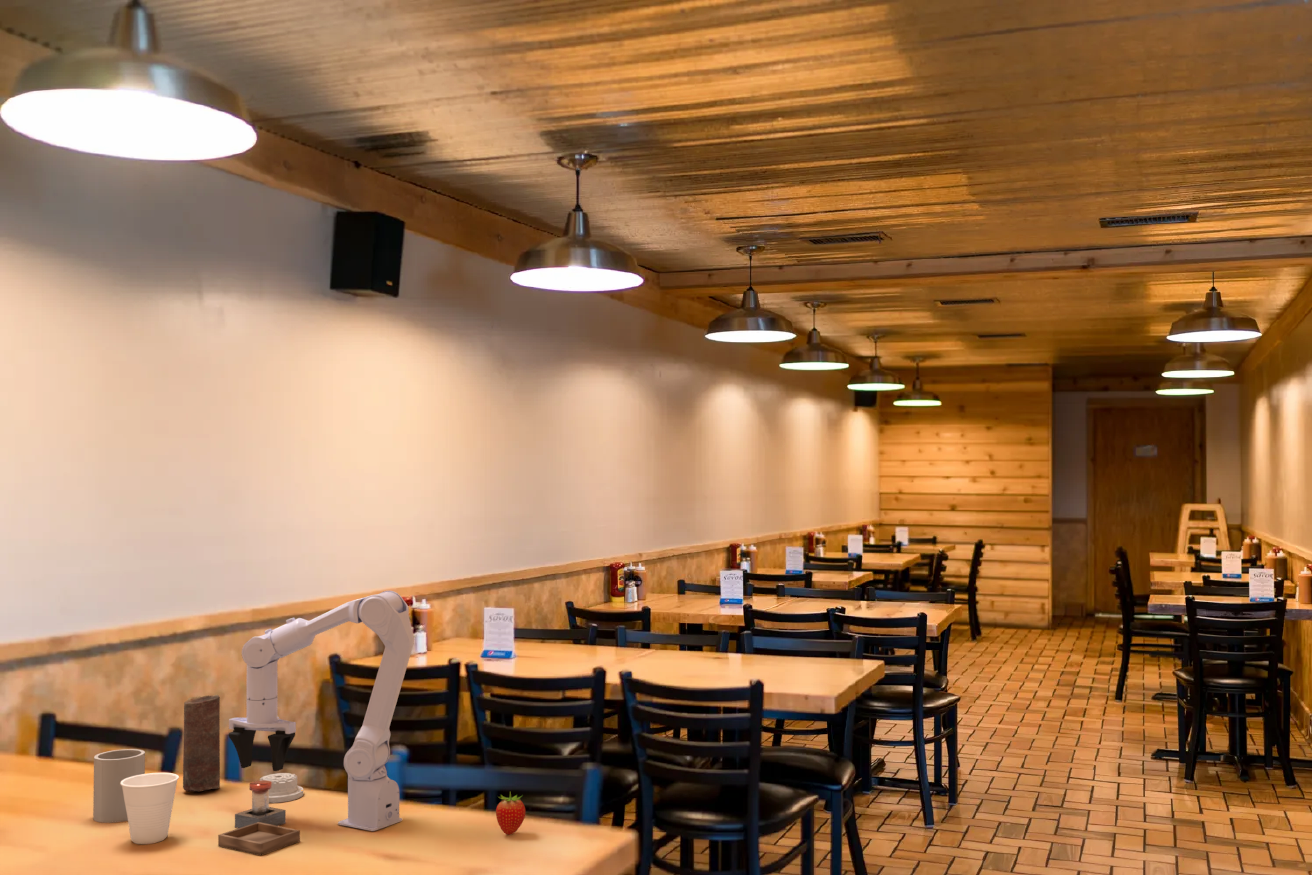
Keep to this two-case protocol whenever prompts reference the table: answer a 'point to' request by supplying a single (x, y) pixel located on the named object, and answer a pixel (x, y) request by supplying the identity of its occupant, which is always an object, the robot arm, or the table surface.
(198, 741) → the candle
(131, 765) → the cup
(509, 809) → the fruit
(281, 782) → the white rounded piece
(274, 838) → the tray
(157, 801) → the cup
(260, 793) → the spice jar
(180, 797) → the table surface
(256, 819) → the block
